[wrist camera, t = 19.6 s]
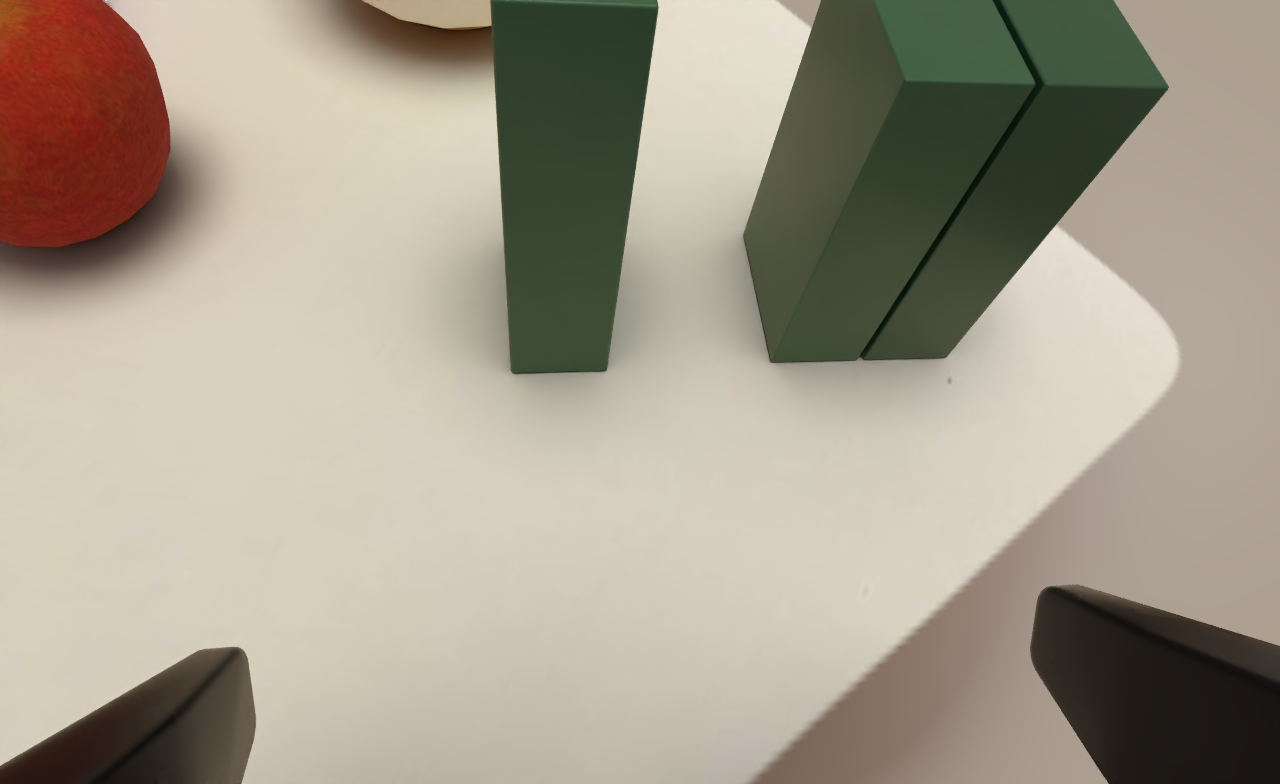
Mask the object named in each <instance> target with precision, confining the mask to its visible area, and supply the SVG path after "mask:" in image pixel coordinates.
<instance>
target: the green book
mask: <svg viewBox="0 0 1280 784" xmlns="http://www.w3.org/2000/svg"><path fill="white" fill-rule="evenodd" d="M490 7H491V25H492V42H493V60H494V78H495V95H496V113H497V131H498V148H499V166H500V184H501V201H502V219H503V237H504V254H505V272H506V290H507V307H508V325H509V342H510V360H511V371H512V372H513V373H522V372H558V371H595V370H606V369H607V365H608V358H609V351H610V344H611V337H612V330H613V323H614V316H615V309H616V302H617V295H618V288H619V281H620V274H621V267H622V260H623V253H624V246H625V239H626V232H627V225H628V218H629V211H630V204H631V197H632V190H633V183H634V176H635V169H636V162H637V155H638V148H639V141H640V134H641V127H642V120H643V113H644V106H645V99H646V92H647V85H648V78H649V71H650V64H651V57H652V50H653V43H654V36H655V29H656V22H657V15H658V2H657V0H490Z"/></svg>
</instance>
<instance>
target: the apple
mask: <svg viewBox="0 0 1280 784" xmlns="http://www.w3.org/2000/svg"><path fill="white" fill-rule="evenodd" d="M169 152H170V126H169V118H168V114H167V110H166V105H165V101H164V97H163V93H162V89H161V86H160V82H159V79H158V75H157V72H156V69H155V65H154V63H153V61H152V59H151V57H150V55H149V53H148V51H147V49H146V47H145V45H144V44H143V42H142V40H141V38H140V36H139V34H138V33H137V32H136V31H135V30H134V29H133V28H132V27H131V26H130V25H129V24H128V23H127V22H126V21H125V20H124V19H123V18H122V17H121V16H120V15H119V14H117V13H116V12H115V11H114V10H113V9H112V8H110V7H109V6H108V5H107V4H106V3H105V2H103V1H102V0H0V241H2V242H5V243H8V244H11V245H14V246H17V247H61V246H65V245H69V244H73V243H77V242H81V241H85V240H89V239H93V238H97V237H99V236H100V235H102V234H104V233H106V232H107V231H109V230H111V229H112V228H114V227H116V226H118V225H119V224H121V223H123V222H124V221H126V220H128V219H130V218H131V217H132V216H133V215H134V214H135V213H136V212H137V211H138V210H139V209H140V208H141V207H143V206H144V205H145V204H146V203H147V202H148V201H149V200H150V199H151V198H152V197H153V196H154V193H155V191H156V189H157V187H158V185H159V183H160V180H161V178H162V176H163V174H164V171H165V167H166V163H167V159H168V156H169Z"/></svg>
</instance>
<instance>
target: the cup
mask: <svg viewBox="0 0 1280 784" xmlns="http://www.w3.org/2000/svg"><path fill="white" fill-rule="evenodd" d="M362 1H364V2H366V3H368V4H370V5H372V6H374V7H376V8H378V9H380V10H382V11H384V12H386V13H388V14H390V15H392V16H394V17H395V18H397V19H400V20H405V21H410V22H415V23H420V24H425V25H428V26H433V27H438V28H443V29H448V30H467V29H480V28H483V27H486V26H492V25H491V7H490V0H362Z"/></svg>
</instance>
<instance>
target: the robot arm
mask: <svg viewBox="0 0 1280 784" xmlns="http://www.w3.org/2000/svg"><path fill="white" fill-rule="evenodd" d="M1030 652H1031V659H1032V662H1033V665H1034V667H1035V670H1036V671H1037V673H1038V675H1039V676H1040V678H1041V679H1042V681H1043V683H1044V684H1045V686H1046V687H1047V689H1048V690H1049V692H1050V693H1051V695H1052V697H1053V698H1054V700H1055V701H1056V703H1057V704H1058V706H1059V707H1060V709H1061V711H1062V712H1063V714H1064V715H1065V717H1066V718H1067V720H1068V721H1069V723H1070V725H1071V726H1072V728H1073V729H1074V731H1075V732H1076V734H1077V736H1078V737H1079V739H1080V740H1081V742H1082V743H1083V745H1084V747H1085V748H1086V750H1087V751H1088V753H1089V754H1090V756H1091V757H1092V759H1093V760H1094V762H1095V764H1096V765H1097V767H1098V768H1099V770H1100V771H1101V773H1102V774H1103V776H1104V777H1105V778H1106V780H1107V782H1108V783H1109V784H1280V646H1278V645H1274V644H1271V643H1268V642H1264V641H1261V640H1258V639H1255V638H1252V637H1248V636H1245V635H1242V634H1239V633H1235V632H1232V631H1228V630H1225V629H1222V628H1219V627H1216V626H1212V625H1209V624H1206V623H1202V622H1199V621H1196V620H1193V619H1189V618H1186V617H1183V616H1180V615H1176V614H1172V613H1170V612H1166V611H1163V610H1160V609H1156V608H1153V607H1150V606H1147V605H1143V604H1140V603H1137V602H1133V601H1130V600H1127V599H1124V598H1121V597H1117V596H1114V595H1111V594H1107V593H1104V592H1101V591H1098V590H1094V589H1091V588H1088V587H1084V586H1080V585H1060V586H1050V587H1046V588H1045V589H1043V590H1042V591H1041V593H1040V594H1039V596H1038V600H1037V605H1036V612H1035V619H1034V625H1033V632H1032V639H1031V647H1030ZM255 728H256V715H255V707H254V700H253V693H252V685H251V678H250V671H249V663H248V658H247V656H246V654H245V652H244V651H243V650H242V649H241V648H239V647H226V648H213V649H203V650H199V651H197V652H195V653H193V654H192V655H190V656H188V657H186V658H185V659H183V660H181V661H180V662H178V663H176V664H174V665H173V666H171V667H169V668H168V669H166V670H164V671H162V672H161V673H159V674H157V675H156V676H154V677H152V678H150V679H149V680H147V681H145V682H144V683H142V684H140V685H138V686H137V687H135V688H133V689H132V690H130V691H128V692H126V693H125V694H123V695H121V696H119V697H118V698H116V699H114V700H113V701H111V702H109V703H107V704H106V705H104V706H102V707H101V708H99V709H97V710H95V711H94V712H92V713H90V714H89V715H87V716H85V717H83V718H82V719H80V720H78V721H77V722H75V723H73V724H71V725H70V726H68V727H66V728H65V729H63V730H61V731H59V732H58V733H56V734H54V735H52V736H51V737H49V738H47V739H46V740H44V741H42V742H40V743H39V744H37V745H35V746H34V747H32V748H30V749H28V750H27V751H25V752H23V753H22V754H20V755H18V756H16V757H15V758H13V759H11V760H10V761H8V762H6V763H4V764H3V765H1V766H0V784H241V783H242V780H243V776H244V773H245V769H246V766H247V762H248V759H249V755H250V751H251V748H252V744H253V741H254V736H255Z"/></svg>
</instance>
